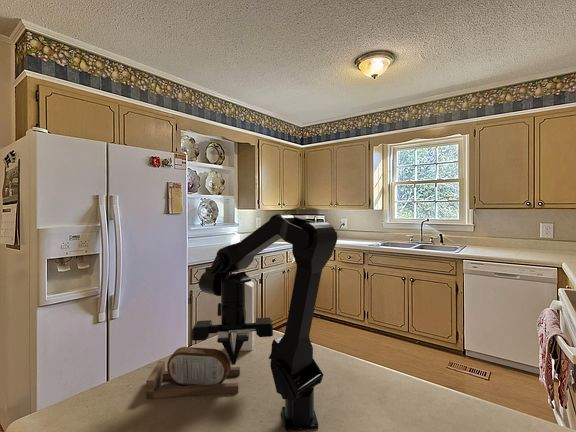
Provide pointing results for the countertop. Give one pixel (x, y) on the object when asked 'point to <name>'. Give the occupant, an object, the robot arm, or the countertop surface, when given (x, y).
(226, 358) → the tin
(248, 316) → the milk
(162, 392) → the wooden frame
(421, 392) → the countertop surface
